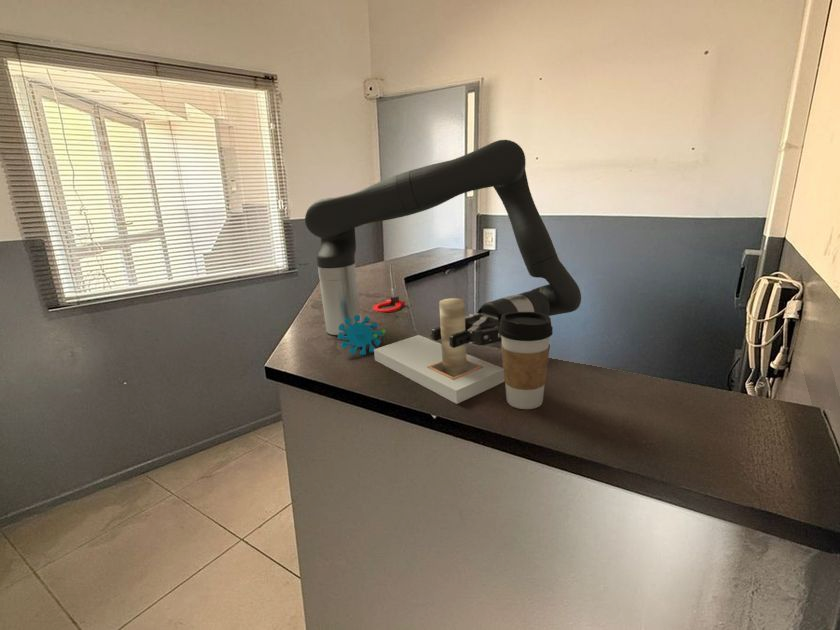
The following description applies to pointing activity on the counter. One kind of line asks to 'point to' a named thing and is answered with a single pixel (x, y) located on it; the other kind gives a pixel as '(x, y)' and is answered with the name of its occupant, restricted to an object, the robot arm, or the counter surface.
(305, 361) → the counter surface
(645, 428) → the counter surface
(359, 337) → the gear
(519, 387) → the coffee cup
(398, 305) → the tow hook
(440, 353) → the white peg hole board
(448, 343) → the peg
